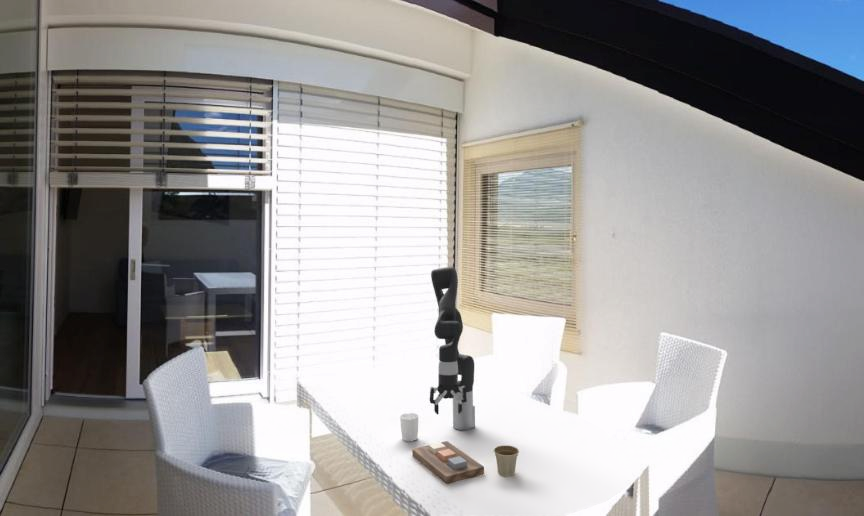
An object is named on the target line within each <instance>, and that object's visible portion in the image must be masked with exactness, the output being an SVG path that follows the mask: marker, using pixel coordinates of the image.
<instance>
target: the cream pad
mask: <svg viewBox="0 0 864 516" xmlns="http://www.w3.org/2000/svg"><path fill="white" fill-rule="evenodd" d="M441 442H442V441H441ZM441 442H440V441H437V442H433V443H428V444H427V445H428V450H429V451H430V452H431V453H433V454H438V451H441V450H446V446H445V445H443V444H442V443H441Z"/></svg>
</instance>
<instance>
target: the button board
mask: <svg viewBox="0 0 864 516" xmlns="http://www.w3.org/2000/svg"><path fill="white" fill-rule="evenodd" d="M441 443H442V444H443V445H445V446H446V449H450V450H452V451H453V452H455V453H456V457H458V456H460V457H462V458H463V459H464V460H466V461H467V467H465V468H461V469H457V470H453V469H452V468H451V467H449V466H448V461H446V462H443V461H442V460H440V459H439V458H438V454H433V453H431V452H430V451H429V450H428V444H427V445H423V446H420V447H415V448H412V449H411V451H412V453H411V454H412V455H411V456H412V457H413V458H414V459H415V460H416V461H417V462H419V463H420V464H421V465H422V466H423V467H425V468H426V469H427V470H428V471H429V472H431V473H432V474H433V475H434V476H435V477H436V478H438V479H439V480H440V481H441V482H442V483H444V484H445V485H446V486H448V485H450V484H454V483H458V482H462V481H465V480H469V478H470V479H473V478H477V477H480V476H484V475H485V466H484V465H482V464H481V463H480V462H478V461H477V460H475V459H474V458H472V457H471V456H469V455H468V454H466V453H465V452H464V451H463V450H461V449H460V448H458V447H456V446H455V445H454V444H452V443H450V442H449V441H447V440H445V441H441ZM483 474H484V475H483Z"/></svg>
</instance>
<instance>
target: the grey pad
mask: <svg viewBox="0 0 864 516" xmlns="http://www.w3.org/2000/svg"><path fill="white" fill-rule="evenodd" d="M448 466H449V467H451V468H452V469H453V470H457V469H461V468H465V467H467V461H466V460H464V459H463V458H462V457H460V456H458V457H454V458H450V459H448Z"/></svg>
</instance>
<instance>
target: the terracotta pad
mask: <svg viewBox="0 0 864 516" xmlns="http://www.w3.org/2000/svg"><path fill="white" fill-rule="evenodd" d="M454 457H456V453H455V452H453V451H452V450H450V449H446V450H441V451H438V458H439V459H440V460H442V461H443V462H446V461H448V459H450V458H454Z"/></svg>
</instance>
